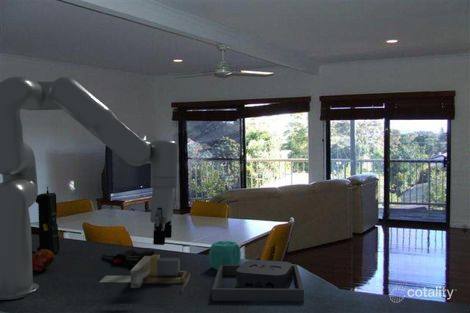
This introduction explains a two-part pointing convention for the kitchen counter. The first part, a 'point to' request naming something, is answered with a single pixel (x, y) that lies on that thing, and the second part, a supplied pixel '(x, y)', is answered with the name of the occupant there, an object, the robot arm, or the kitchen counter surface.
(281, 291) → the dark rectangular frame
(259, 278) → the streaming box
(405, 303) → the kitchen counter surface
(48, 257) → the pomegranate
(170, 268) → the latch bar
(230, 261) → the decorative dice
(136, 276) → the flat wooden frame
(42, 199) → the portable radio
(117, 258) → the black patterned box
